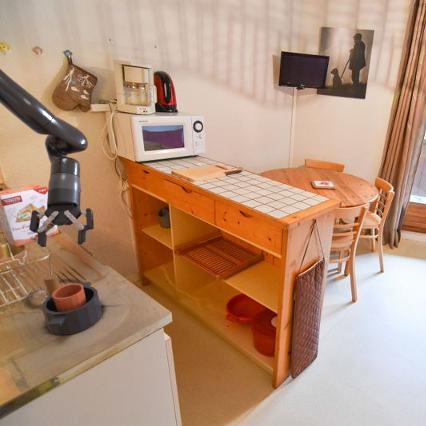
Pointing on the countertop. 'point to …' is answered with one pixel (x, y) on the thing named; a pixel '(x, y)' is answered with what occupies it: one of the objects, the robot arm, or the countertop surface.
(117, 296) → the countertop surface
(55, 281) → the lid
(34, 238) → the cracker box
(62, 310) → the cup
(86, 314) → the pot
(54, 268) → the countertop surface
